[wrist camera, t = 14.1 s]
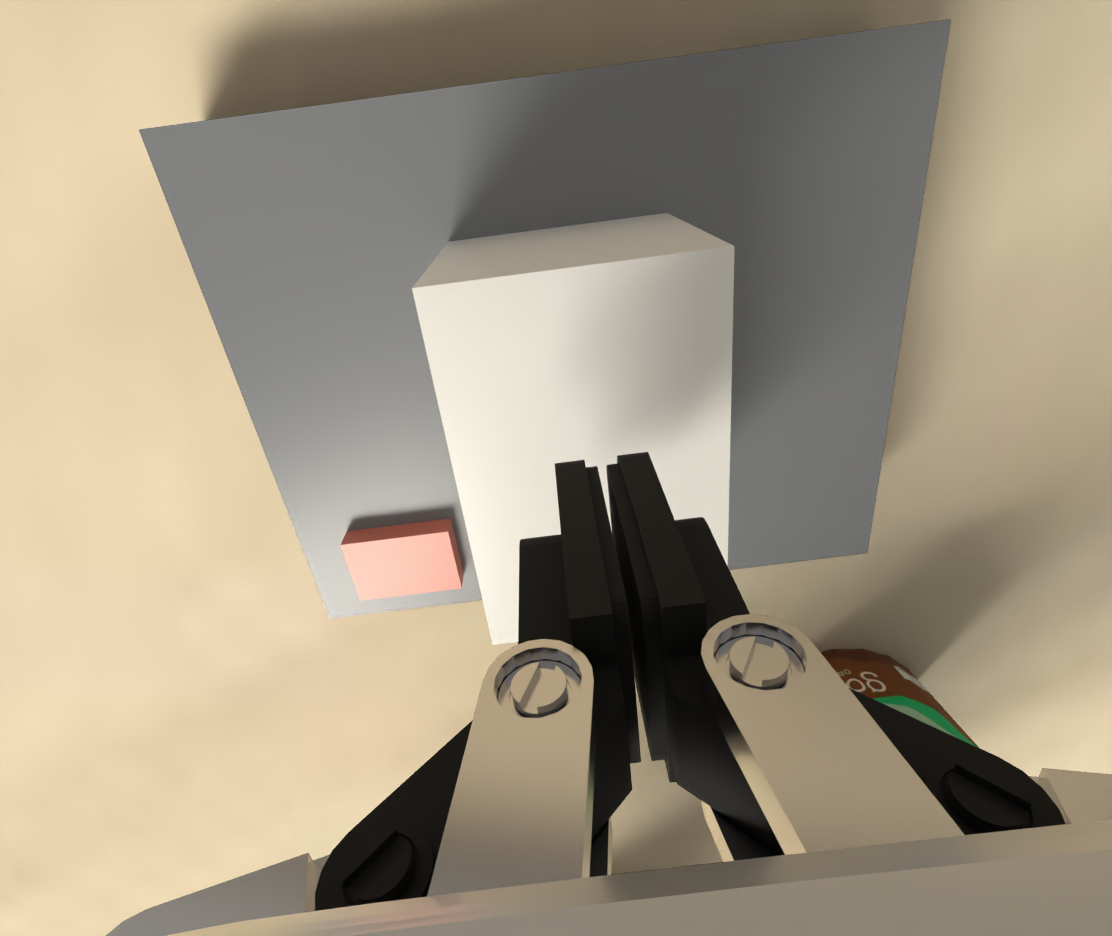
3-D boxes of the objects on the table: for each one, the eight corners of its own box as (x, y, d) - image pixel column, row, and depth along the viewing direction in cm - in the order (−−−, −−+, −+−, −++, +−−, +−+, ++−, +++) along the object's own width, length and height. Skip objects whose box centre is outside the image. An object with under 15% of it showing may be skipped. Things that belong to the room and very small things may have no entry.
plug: (658, 455, 23) (726, 616, 15) (503, 474, 23) (492, 644, 16) (647, 203, 19) (734, 246, 11) (458, 228, 19) (411, 287, 11)
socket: (827, 505, 25) (878, 566, 22) (351, 564, 25) (323, 634, 22) (880, 39, 18) (971, 13, 14) (201, 131, 18) (119, 129, 14)
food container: (911, 588, 28) (1093, 797, 19) (945, 669, 30) (1119, 887, 21) (669, 697, 30) (729, 925, 21) (719, 763, 33) (791, 991, 24)
